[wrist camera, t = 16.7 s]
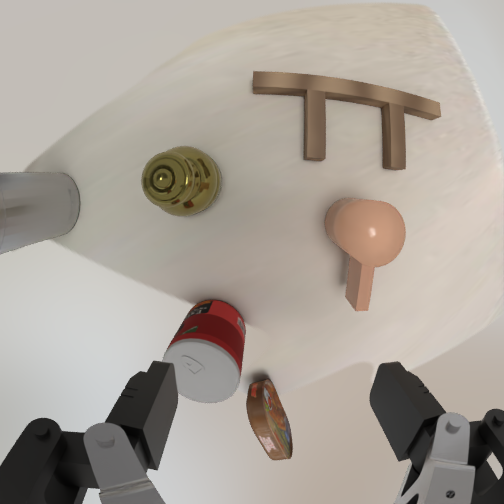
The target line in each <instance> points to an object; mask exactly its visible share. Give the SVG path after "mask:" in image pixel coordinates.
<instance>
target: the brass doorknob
mask: <svg viewBox="0 0 504 504" xmlns="http://www.w3.org/2000/svg"><path fill="white" fill-rule="evenodd" d="M141 182H142V188H143V191H144V194H145V195H146V197H147V198H148V199H149V200H150V201H151V202H152V203H153V204H155V205H157V206H159V207H160V208H161V209H162V210H164V211H165V212H167V213H169V214H171V215H175V216H190V215H193V214H196V213H199V212H201V211H203V210H205V209H206V208H208V207H209V206H211V205H212V204H213V202H214V201H215V200H216V198H217V197H218V195H219V192H220V189H221V182H222V180H221V173H220V170H219V168H218V166H217V164H216V163H215V162H214V161H213V160H212V159H211V158H210V157H209V156H208V155H207V154H205V153H204V152H202V151H201V150H199V149H197V148H194V147H190V146H179V147H175V148H172V149H170V150H168V151H166V152H163V153H159V154H157V155H155V156H154V157H153V158H151V159H150V160H149V161H148V163H147V164H146V166H145V168H144V170H143V173H142V179H141Z"/></svg>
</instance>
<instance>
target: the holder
mask: <svg viewBox="0 0 504 504" xmlns="http://www.w3.org/2000/svg"><path fill="white" fill-rule="evenodd" d="M253 92H254V94H276V95H293V96H304V160H314V161H322V160H324V159H325V155H326V112H325V99H333V100H340V101H347V102H353V103H359V104H365V105H370V106H375V107H380V108H381V110H382V134H383V168H385V169H392V170H402V169H406V147H405V121H404V113H407V114H411V115H415V116H418V117H422V118H426V119H429V120H433V119H436V118H439V117H441V111H440V103H439V102H436V101H433V100H430V99H426V98H423V97H420V96H417V95H413V94H410V93H406V92H402V91H399V90H395V89H391V88H386V87H382V86H378V85H373V84H368V83H363V82H358V81H352V80H346V79H340V78H333V77H326V76H318V75H308V74H297V73H283V72H257V71H253Z"/></svg>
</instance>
